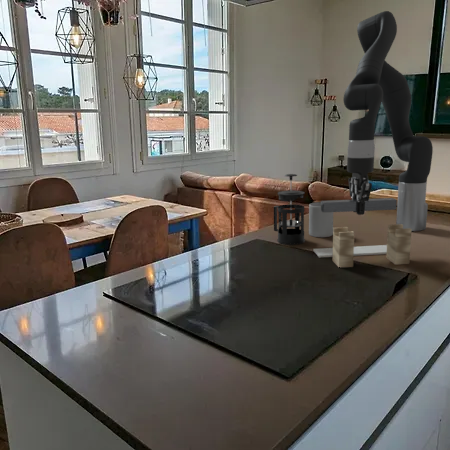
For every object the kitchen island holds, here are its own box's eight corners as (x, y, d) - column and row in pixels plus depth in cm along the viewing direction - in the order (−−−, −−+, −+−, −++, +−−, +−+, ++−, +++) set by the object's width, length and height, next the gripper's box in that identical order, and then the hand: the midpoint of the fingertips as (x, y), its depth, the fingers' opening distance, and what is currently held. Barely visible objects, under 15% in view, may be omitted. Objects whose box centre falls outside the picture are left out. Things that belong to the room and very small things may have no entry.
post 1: (346, 259, 124) (347, 226, 122) (353, 266, 118) (354, 232, 116) (332, 260, 124) (333, 227, 121) (338, 267, 118) (339, 232, 116)
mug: (333, 237, 148) (334, 206, 145) (308, 237, 149) (309, 206, 147) (331, 229, 159) (332, 200, 156) (308, 228, 161) (309, 200, 158)
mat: (393, 246, 135) (394, 244, 135) (404, 252, 128) (404, 251, 128) (313, 250, 134) (313, 248, 134) (319, 257, 127) (319, 255, 127)
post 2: (399, 257, 125) (401, 224, 122) (409, 263, 119) (411, 229, 116) (386, 257, 124) (388, 224, 122) (395, 264, 119) (397, 229, 116)
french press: (311, 239, 146) (312, 173, 140) (298, 246, 139) (298, 176, 133) (282, 235, 153) (281, 171, 147) (267, 241, 146) (266, 175, 140)
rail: (391, 207, 130) (392, 197, 129) (396, 209, 127) (396, 199, 126) (320, 210, 129) (321, 200, 128) (323, 212, 126) (323, 202, 126)
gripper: (383, 157, 118) (379, 217, 122) (364, 153, 131) (362, 208, 135) (356, 158, 117) (353, 218, 121) (340, 154, 131) (338, 209, 135)
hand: (358, 212), depth 128 cm, fingers closed on rail, 3 cm apart
